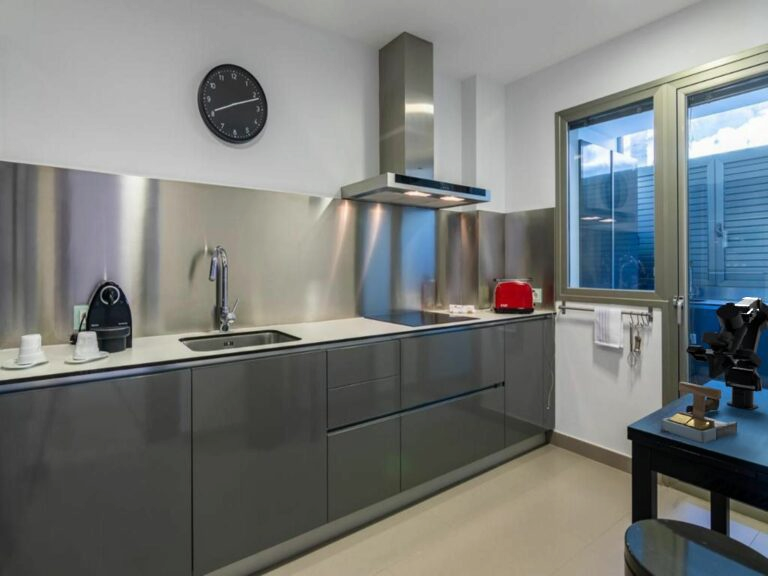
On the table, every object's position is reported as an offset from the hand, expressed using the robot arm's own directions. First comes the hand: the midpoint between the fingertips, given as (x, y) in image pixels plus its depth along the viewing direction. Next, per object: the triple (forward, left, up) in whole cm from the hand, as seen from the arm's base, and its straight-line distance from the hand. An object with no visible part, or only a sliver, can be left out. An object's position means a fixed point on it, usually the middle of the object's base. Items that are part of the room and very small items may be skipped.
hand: (711, 377), depth 129 cm
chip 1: (+17, +1, -12) cm, 21 cm away
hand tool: (-4, -4, -13) cm, 14 cm away
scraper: (+13, +3, -11) cm, 18 cm away
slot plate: (+9, +3, -13) cm, 17 cm away
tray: (+18, +3, -13) cm, 23 cm away
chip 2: (+17, +6, -12) cm, 22 cm away
